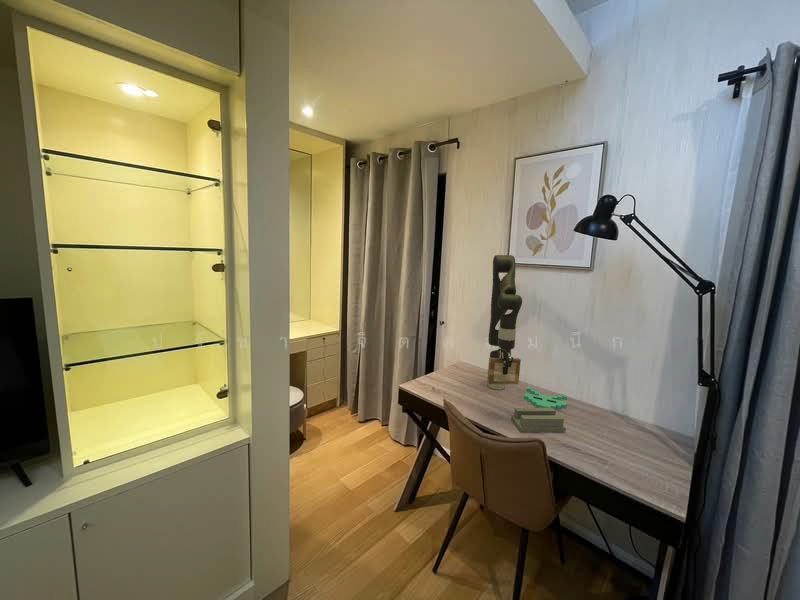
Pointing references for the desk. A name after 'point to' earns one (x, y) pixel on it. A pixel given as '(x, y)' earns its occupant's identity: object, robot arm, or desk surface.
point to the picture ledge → (537, 420)
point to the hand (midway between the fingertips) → (503, 372)
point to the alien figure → (545, 400)
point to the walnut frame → (497, 372)
